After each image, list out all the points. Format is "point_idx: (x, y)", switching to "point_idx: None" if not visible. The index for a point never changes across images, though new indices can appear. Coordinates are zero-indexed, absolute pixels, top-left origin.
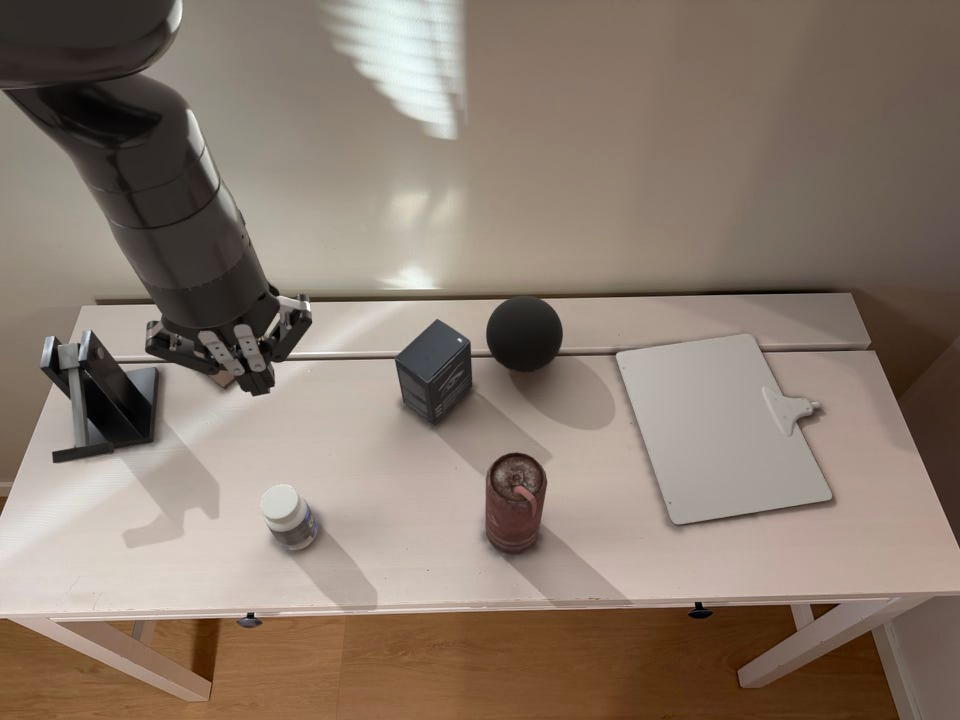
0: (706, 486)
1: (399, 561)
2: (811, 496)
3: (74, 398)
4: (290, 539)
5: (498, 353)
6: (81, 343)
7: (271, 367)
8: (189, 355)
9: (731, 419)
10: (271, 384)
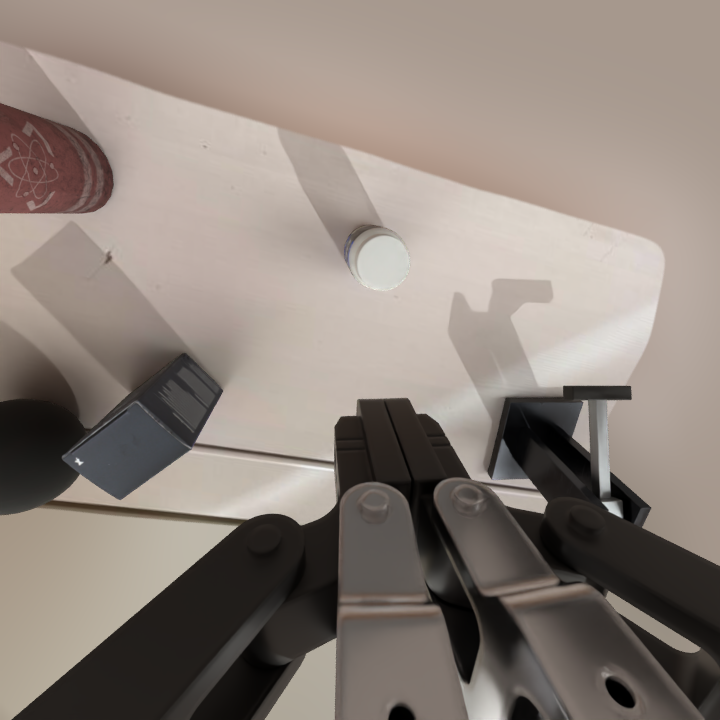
0: None
1: (244, 171)
2: None
3: (605, 460)
4: (377, 226)
5: (55, 432)
6: None
7: (336, 482)
8: None
9: None
10: (347, 424)
